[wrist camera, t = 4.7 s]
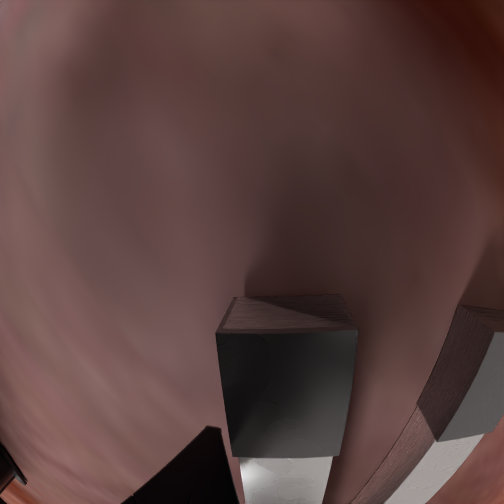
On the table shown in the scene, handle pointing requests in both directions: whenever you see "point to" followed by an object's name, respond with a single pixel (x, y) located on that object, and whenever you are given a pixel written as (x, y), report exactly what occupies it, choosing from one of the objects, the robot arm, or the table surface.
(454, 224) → the table surface
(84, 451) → the table surface
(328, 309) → the tong arm
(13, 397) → the table surface
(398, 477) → the base
